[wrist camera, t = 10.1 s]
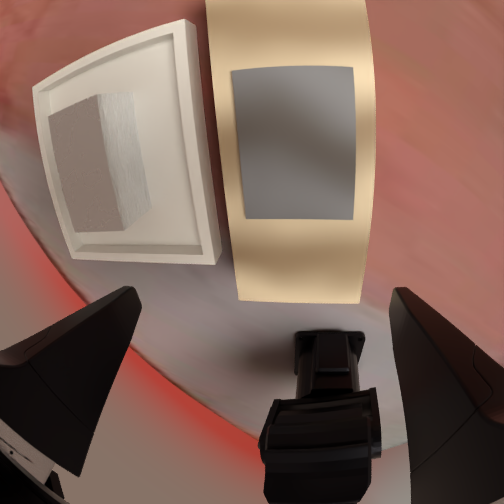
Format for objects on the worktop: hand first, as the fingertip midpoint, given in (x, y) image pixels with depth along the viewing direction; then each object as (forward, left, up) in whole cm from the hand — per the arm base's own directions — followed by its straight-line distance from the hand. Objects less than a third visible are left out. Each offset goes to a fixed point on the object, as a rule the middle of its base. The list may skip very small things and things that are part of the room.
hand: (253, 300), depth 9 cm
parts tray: (+4, +12, -11) cm, 17 cm away
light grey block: (+4, +12, -11) cm, 17 cm away
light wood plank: (+4, -1, -11) cm, 12 cm away
